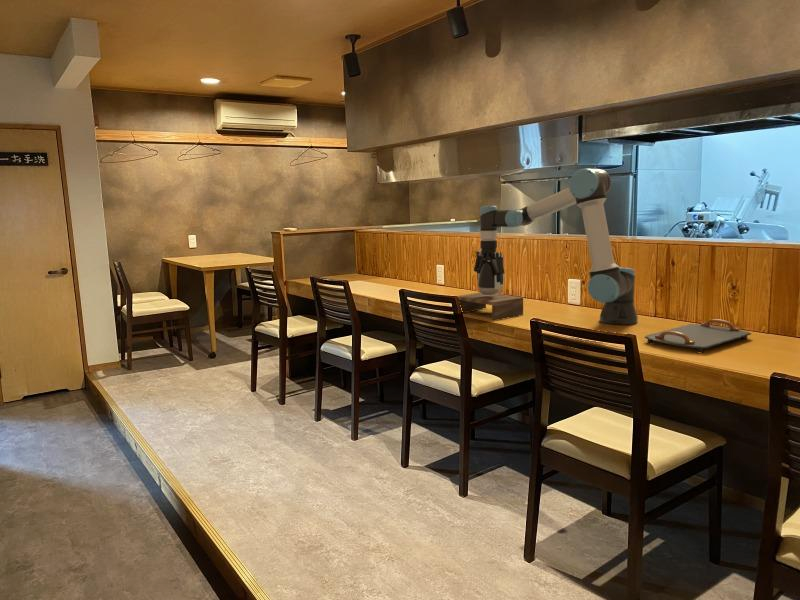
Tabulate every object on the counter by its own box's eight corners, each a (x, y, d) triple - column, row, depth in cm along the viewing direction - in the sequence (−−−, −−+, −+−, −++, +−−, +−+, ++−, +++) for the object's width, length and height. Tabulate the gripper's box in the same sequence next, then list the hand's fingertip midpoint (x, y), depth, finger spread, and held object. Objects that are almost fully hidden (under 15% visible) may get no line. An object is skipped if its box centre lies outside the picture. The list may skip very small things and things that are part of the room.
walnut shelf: (523, 314, 276) (523, 297, 274) (495, 320, 265) (495, 302, 264) (483, 307, 296) (483, 291, 295) (455, 312, 286) (455, 296, 285)
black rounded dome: (499, 292, 284) (499, 260, 281) (500, 295, 274) (500, 262, 271) (477, 292, 285) (477, 260, 282) (478, 295, 275) (477, 262, 272)
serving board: (694, 329, 239) (695, 314, 238) (756, 339, 220) (757, 322, 219) (637, 345, 216) (638, 328, 215) (700, 357, 198) (701, 338, 197)
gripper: (512, 240, 268) (512, 289, 272) (477, 238, 286) (477, 285, 290) (500, 241, 264) (501, 291, 268) (465, 239, 282) (466, 286, 286)
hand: (488, 288), depth 279 cm, fingers closed on black rounded dome, 10 cm apart
